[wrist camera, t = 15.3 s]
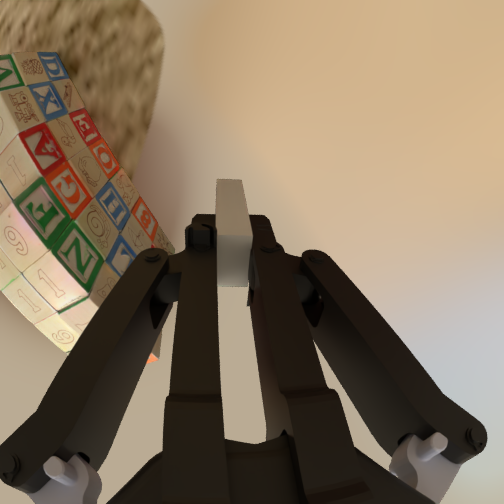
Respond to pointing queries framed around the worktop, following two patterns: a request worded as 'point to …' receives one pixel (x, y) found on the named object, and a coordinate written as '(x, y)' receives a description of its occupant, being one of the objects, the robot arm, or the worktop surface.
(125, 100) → the worktop surface
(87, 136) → the stack of blocks
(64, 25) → the worktop surface
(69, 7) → the worktop surface
